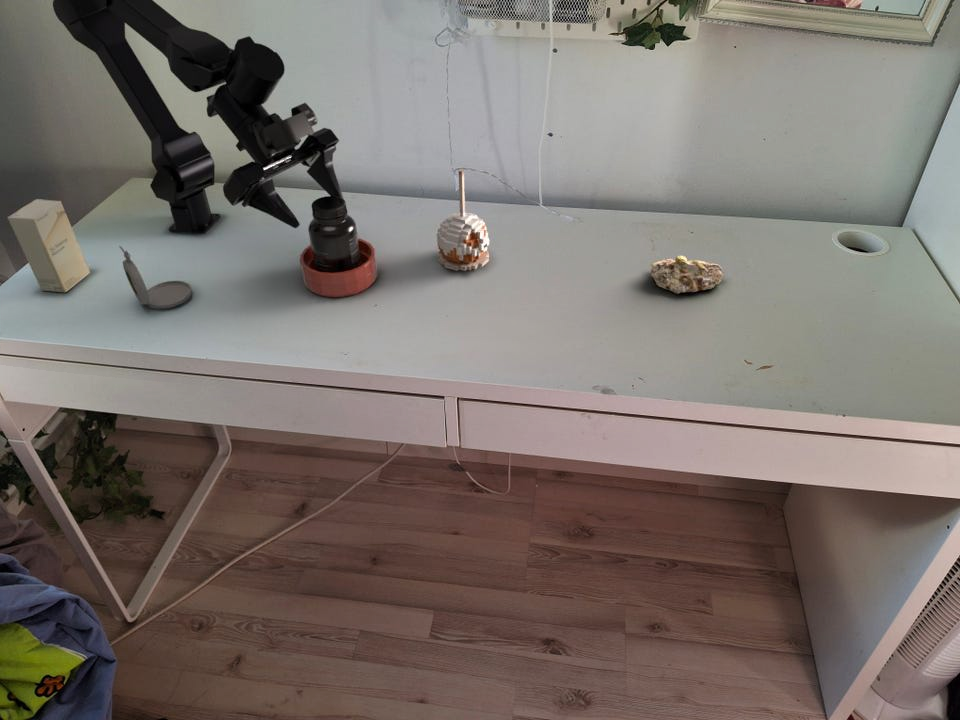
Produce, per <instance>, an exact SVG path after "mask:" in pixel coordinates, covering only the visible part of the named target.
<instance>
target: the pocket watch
mask: <svg viewBox="0 0 960 720" xmlns="http://www.w3.org/2000/svg"><path fill="white" fill-rule="evenodd" d="M118 247H119V249H121V251H122V253H123V256H124V258H125V259H124V260H123V261H122V267H123V270H124V273H125V275H126V279H127V281H128V283H129V285H130V287H131V289H132V292H133V293H134V295H135V297H136V299H137V300H138V302H139V303H140V305H147V306H148V307H149V308H153V309H157V310H158V309H159V310H160V309H162V310H164V309H171V308H174V307H177V306H180V305H182V304H183V303H185V302H187V301H188V300H189V299H190V298H191V296H192V293H193V289H192V286H191V285H190V284H189V283H188V282H186V281H184V280H167V281H163V282H160V283H157V284H154V285H153V286H151V287H150V288H148V289H147V286H146V284H145V282H144V279H143V276H142V275H141V273H140V271H139V269H138V268H137V265H136V264H135V263H134V262H133V260H132V259H131V254H130V253H129V252H128V250H125V249H124V248H123V247H122V246H121V245H119V246H118Z"/></svg>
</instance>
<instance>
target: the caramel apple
mask: <svg viewBox="0 0 960 720" xmlns="http://www.w3.org/2000/svg"><path fill="white" fill-rule="evenodd" d="M458 190H459V191H458V197H459V211H458V212H457V213H455V212H453V213H452V214H451V215H449V216H448V217H447V218H445V220H443V221H442V222H441V223H440V224H439V225H440V227H439V228H438V229H437V233H436V240H437V241H436V242H437V243H436V244H437V248H438V250H439V251H438V255H437V259H438V260H439V262H440V265H444V268H446V269H449V270H453V271H457V272H458V271H459V270H461V271H464V272H466V271H467V270H468V271H471V270H472V269H473V270H477V269H478V268H479V267H481V268H483V267H484V266H485V265H486V264H487V263H488V262H489V261H490V252H489V251H488V246H489V245H490V237H489V231H487V225H486V224H485V220H483V219H481V218H480V217H479V216H477V214H474V213H471V212H467V211H466V200H465V199H466V198H465V196H466V195H465V194H466V193H465V170H464V169H461V168H460V169H459V170H458Z"/></svg>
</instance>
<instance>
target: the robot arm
mask: <svg viewBox="0 0 960 720" xmlns="http://www.w3.org/2000/svg"><path fill="white" fill-rule="evenodd" d="M52 9H53V11H54V14H55V16H56V18H57V19H58V21H60V22H61V24H63V26H64V27H65V29H66V30H67V31H68V32H69V34H70V36H72V38H73V39H74V40H75V41H76V42H78V43H80V44H81V45H83V46H84V47H86V48H88V49H89V50H90V51H92V52H93V53H95V55H96V56H97V57H98V59H99V61H100V62H101V64H102V65H103V67H104V69H105V71H107V74H108V75H109V77H110V78H111V80H112V81H113V83H114V85H115V86H116V87H117V89H118V91H119V92H120V94H121V96H122V97H123V99H124V101H125V102H126V103H127V105H128V107H129V109H130V110H131V112H132V113H133V114H134V117H135V118H136V120H137V121H138V123H139V124H140V126H141V128H142V129H143V131H144V133H145V134H146V136H147V137H148V139H149V141H150V149H151V151H150V153H151V155H150V156H151V163H152V165H153V167H154V168H155V169H154V170H156V173H155V174H154V176H153V179H152V180H151V183H150V184H149V186H150V188H151V191H152V192H153V195H154V196H155V198H157V199H160V200H162V201H165V202H168V204H169V207H170V213H171V217H172V219H173V223H172V224H171V225H170V226H169V227H168V231H169V232H171V233H188V234H197V235H204V234H206V233H207V232H208V231H209V230H210V228H212V227H213V226H214V225H215V223H216V222H217V221H219V219H220V218H221V215H220V213H213V212H212V210H211V207H210V203H209V200H208V196H207V193H206V189H207V188H209V187H212V186H214V185H215V173H216V172H215V168H216V167H215V166H216V165H215V161H214V158H213V156H212V153H211V152H210V150H209V149H208V148H207V147H206V145H205V144H204V142H203V140H202V137H201V135H200V134H198V132H196V131H192V132H189V131H187V130H185V129H183V128H182V127H181V126H180V125H179V124H178V122H177V121H176V119H175V118H174V116H173V114H172V112H171V111H170V109H169V108H168V106H167V104H166V103H165V101H164V100H163V97H162V96H161V95H160V93H159V91H158V89H157V87H156V86H155V85H154V83H153V81H152V80H151V78H150V76H149V75H148V73H147V71H146V70H145V67H143V65H142V63H141V61H140V60H139V58H138V57H137V55H136V53H135V51H134V49H133V48H132V46H131V45H130V43H129V42H128V40H127V38H126V25H127V26H128V27H130V29H132V30H133V31H134V32H136V33H137V34H138V35H139V36H140V37H142V38H143V39H144V40H146V41H147V42H148V43H149V44H150V45H151V46H153V47H154V48H155V49H156V50H158V51H159V52H160V53H162V55H163V56H164V57H165V58H166V59H167V62H168V67H169V70H170V72H171V73H172V74H173V75H174V76H175V77H176V78H177V79H178V81H179V82H181V83H182V84H183V86H184V87H186V88H187V89H188V90H189V91H191V92H193V93H200V92H203V91H205V90H208V89H212V88H214V87H217V86H218V87H217V88H216V89H215V92H214V93H213V94H211V95H208V96H206V102H207V105H206V114H207V117H208V118H213V117H216V116H218V117H219V118H220V119H221V120H222V122H223V123H224V124H225V126H226V127H227V128H228V130H229V131H230V132H231V133H232V134H233V135H234V137H235V138H236V140H237V143H236V145H235V148H237V150H238V151H239V152H240V153H241V152H242V151H243V152H244V151H245V152H247V154H248V155H249V156H250V157H251V159H252V160H253V161H250V162H248V163H246V164H244V165H241V166H239V167H237V168H235V169H233V170H232V171H231V173H230V175H229V177H228V178H227V179H226V181H225V182H224V184H223V186H222V191H223V195H224V197H225V199H226V200H227V201H228V202H229V204H230V205H231V206H233V207H234V206H236V205H239V204H240V205H241V206H242V207H243V208H246V207H249V208H253V209H254V210H257V211H260V212H262V213H265V214H266V215H269V216H271V217H273V218H274V219H277V220H279V221H280V222H282V223H284V224H285V225H288V226H289V227H291V228H294V229H297V228H299V227H300V226H301V223H300V221H299V220H298V219H297V217H296V215H295V214H294V213H293V211H292V210H291V209H290V207H289V206H288V205H287V203H286V202H285V201H284V199H283V198H282V197H281V196H280V194H278V192H277V190H276V188H275V183H274V180H273V177H275V176H277V175H279V174H281V173H283V172H285V171H288V170H289V169H291V168H293V167H295V166H297V165H299V164H301V165H302V166H305V167H308V169H307V170H306V173H307V174H308V175H309V176H310V177H311V178H312V179H313V180H314V181H315V182H316V183H317V184H318V185H319V186H320V187H321V188H322V189H323V191H325V192H326V193H327V195H328V196H337V197H341V198H343V199H344V200H345V198H344V195H343V193H342V190H341V187H340V184H339V180H338V177H337V174H336V171H335V168H334V162H333V160H334V159H333V158H334V153H335V152H336V151H337V144H338V143H339V142H340V139H339V138H338V137H337V135H336V134H335V133H334V131H333V130H332V129H331V128H328V127H322V128H321V129H319V130H317V131H314V128H313V127H314V126H317V124H318V118H317V116H316V113H315V111H314V110H313V109H312V108H311V107H310V106H309V105H308V104H307V102H303V103H301V104H298V105H296V106H293V107H292V108H291V109H290V111H291V112H290V113H291V116H289V117H287V118H284V119H283V118H282V117H281V116H280V115H279V114H278V113H276V112H274V113H271V114H270V113H269V112H268V110H266V108H265V107H264V104H265V103H267V102H268V100H269V99H270V97H271V95H272V94H273V92H274V90H275V89H276V88H277V85H278V84H279V83H280V81H281V79H282V78H283V76H284V74H285V70H286V69H285V68H286V67H285V64H284V60H283V59H282V58H281V56H280V54H279V53H278V52H277V51H274V50H273V49H271V48H270V47H268V46H267V45H265V44H262V43H257V42H255V41H254V40H253V38H252V37H251V36H250V35H248V36H245V37H241V38H239V39H237V40H236V42H235V44H234V48H231V47H229V46H228V44H226V43H225V42H224V41H222V40H221V39H219V38H218V37H216V36H214V35H212V34H211V33H209V32H206V31H202V30H198V29H195V28H190V27H188V26H186V25H185V24H183V23H181V21H179V20H178V19H177V18H175V17H174V16H173V15H172V14H171V13H169V12H168V11H167V10H166V9H164V8H163V7H162V6H160V5H159V4H158V3H157V2H155V1H154V0H52ZM306 136H307V137H306ZM305 137H306V138H305ZM303 138H305V139H304V141H303V142H302V139H303ZM301 142H302V143H301ZM300 143H301V144H300ZM299 144H300V145H299ZM297 146H299V147H298V148H296V147H297Z"/></svg>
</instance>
